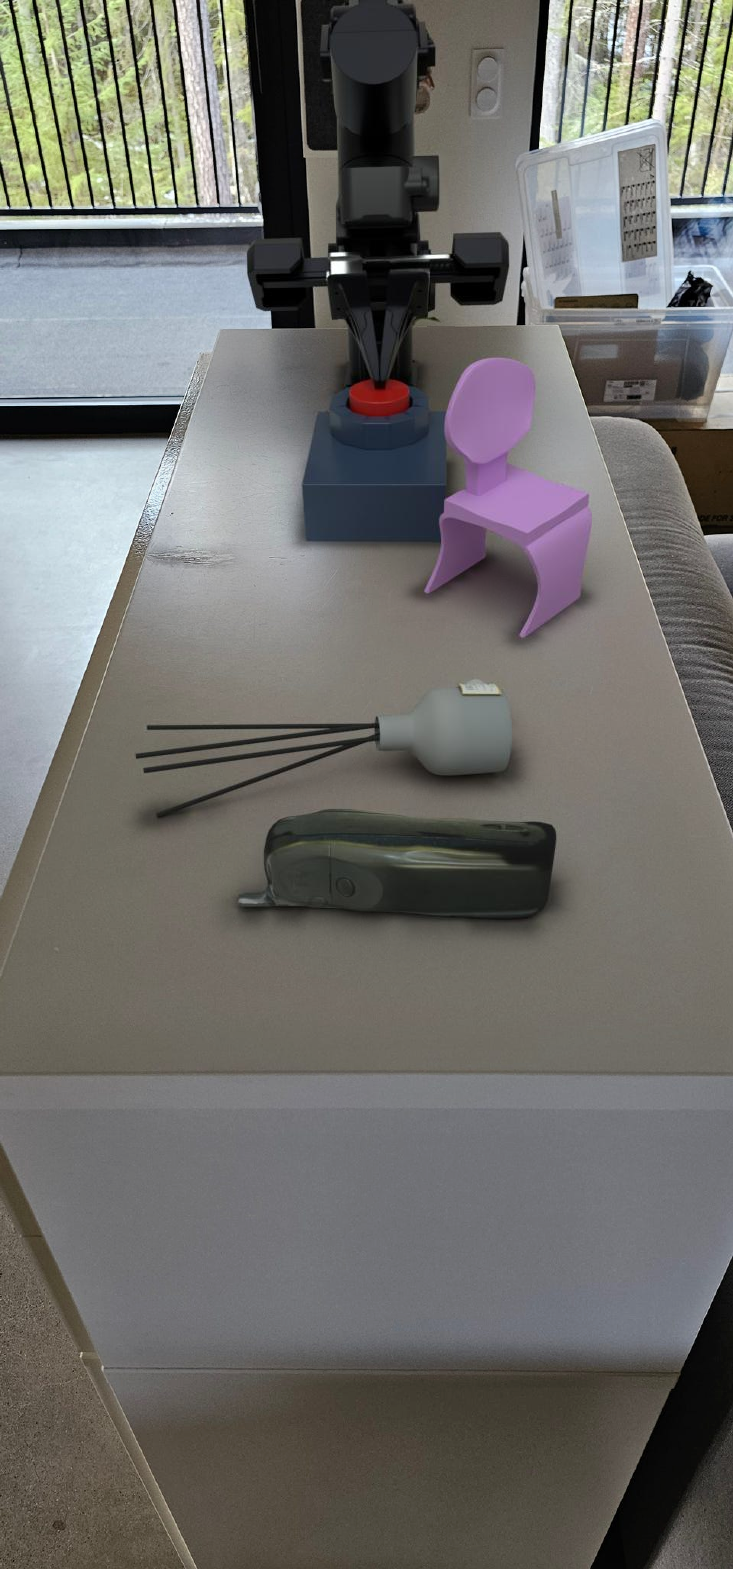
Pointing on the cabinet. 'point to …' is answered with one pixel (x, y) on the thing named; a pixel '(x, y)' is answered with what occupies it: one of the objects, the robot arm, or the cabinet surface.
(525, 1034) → the cabinet surface
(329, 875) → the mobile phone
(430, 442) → the switch box
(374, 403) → the button
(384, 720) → the reed diffuser
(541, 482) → the toy chair
